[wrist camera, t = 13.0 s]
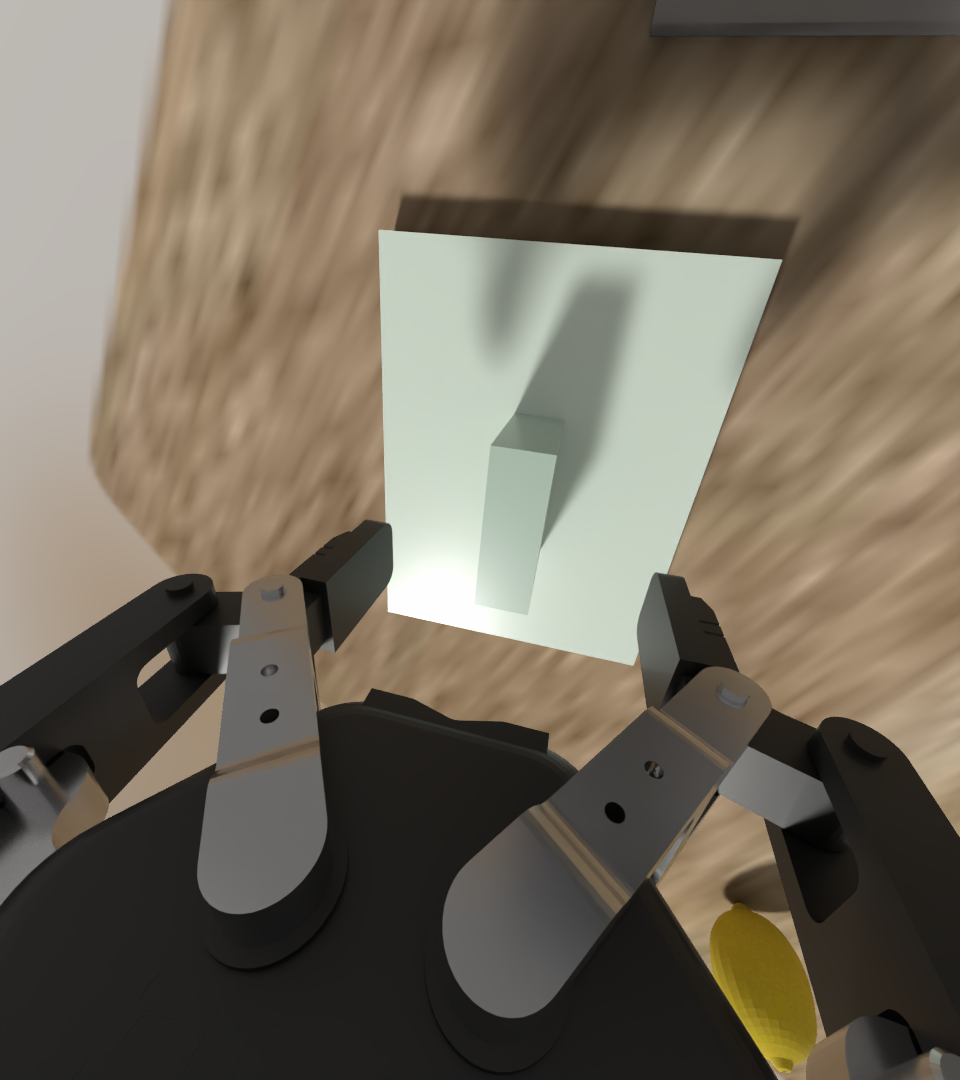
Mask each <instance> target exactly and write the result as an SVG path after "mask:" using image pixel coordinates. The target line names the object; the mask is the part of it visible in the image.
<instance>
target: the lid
mask: <svg viewBox="0 0 960 1080" xmlns="http://www.w3.org/2000/svg"><path fill="white" fill-rule="evenodd" d="M781 263H782V260H780V259H766V258H753V257H739V256H726V255H712V254H699V253H685V252H672V251H658V250H645V249H631V248H618V247H604V246H591V245H577V244H564V243H550V242H537V241H523V240H510V239H497V238H483V237H470V236H456V235H443V234H429V233H416V232H402V231H389V230H379V264H380V305H381V345H382V385H383V426H384V466H385V507H386V523H389V524H390V525H391V527H392V537H393V573H392V577H391V579H390V582H389V584H388V585H387V587H388V612H392V613H397V614H401V615H406V616H410V617H415V618H420V619H424V620H429V621H433V622H438V623H442V624H447V625H451V626H456V627H460V628H465V629H469V630H474V631H478V632H483V633H488V634H492V635H497V636H501V637H506V638H510V639H515V640H519V641H524V642H528V643H533V644H537V645H542V646H546V647H551V648H555V649H560V650H565V651H569V652H574V653H578V654H583V655H587V656H592V657H596V658H601V659H605V660H610V661H614V662H619V663H623V664H628V665H634V662H635V659H636V657H637V654H638V651H639V648H638V641H637V624H638V618H639V615H640V612H641V608H642V605H643V602H644V599H645V596H646V593H647V590H648V587H649V584H650V581H651V578H652V576H653V574H654V573H655V572H658V573H663V574H667V572H668V570H669V567H670V564H671V561H672V559H673V556H674V553H675V551H676V548H677V545H678V542H679V540H680V537H681V534H682V532H683V529H684V526H685V523H686V521H687V518H688V515H689V513H690V510H691V507H692V504H693V502H694V499H695V496H696V494H697V491H698V488H699V485H700V483H701V480H702V477H703V475H704V472H705V469H706V466H707V464H708V461H709V458H710V456H711V453H712V450H713V447H714V445H715V442H716V439H717V437H718V434H719V431H720V428H721V426H722V423H723V420H724V417H725V415H726V412H727V409H728V407H729V404H730V401H731V398H732V396H733V393H734V390H735V388H736V385H737V382H738V379H739V377H740V374H741V371H742V369H743V366H744V363H745V360H746V358H747V355H748V352H749V350H750V347H751V344H752V341H753V339H754V336H755V333H756V331H757V328H758V325H759V322H760V320H761V317H762V314H763V312H764V309H765V306H766V303H767V301H768V298H769V295H770V293H771V290H772V287H773V284H774V282H775V279H776V276H777V274H778V271H779V268H780V265H781Z"/></svg>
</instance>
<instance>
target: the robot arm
mask: <svg viewBox="0 0 960 1080" xmlns="http://www.w3.org/2000/svg"><path fill="white" fill-rule="evenodd" d="M392 573H393V537H392V527H391V525H390V524H389V523H384V522H378V521H373V520H365V521H363V522H362V523H361V524H360V525H359V526H358V527H357V528H355V529H354V530H353V531H352V532H349V531H348V532H345V533H343V534H341V535H338V536H336V537H334V538H332V539H331V540H330V541H329V542H328V543H326V544H325V545H324V547H323V548H320V549H319V550H318V551H317V552H316V554H313V555H312V556H311V557H310V558H308V559H307V560H306V561H305V562H304V563H302V564H301V565H300V566H299V567H298V568H296V569H295V570H294V571H293V572H292V573H290V574H289V575H284V574H280V575H271V576H266V577H263V578H260V579H258V580H256V581H254V582H252V583H250V584H249V585H248V586H247V587H246V588H245V589H244V591H243V592H215V588H214V585H213V581H212V579H211V578H210V577H208V576H206V575H202V574H185V575H179V576H175V577H172V578H169V579H166V580H164V581H161V582H159V583H158V584H156V585H154V586H153V587H151V588H150V589H148V590H147V591H145V592H144V593H142V594H141V595H139V596H138V597H136V598H134V599H133V600H131V601H130V602H128V603H127V604H125V605H124V606H122V607H121V608H119V609H118V610H116V611H115V612H113V613H111V614H110V615H108V616H107V617H105V618H104V619H102V620H101V621H99V622H98V623H96V624H95V625H93V626H92V627H90V628H88V629H87V630H85V631H84V632H82V633H81V634H79V635H78V636H76V637H75V638H73V639H72V640H70V641H68V642H67V643H65V644H64V645H63V646H61V647H59V648H58V649H56V650H55V651H53V652H52V653H50V654H49V655H47V656H45V657H44V658H43V659H41V660H39V661H38V662H36V663H35V664H33V665H32V666H30V667H29V668H27V669H26V670H24V671H23V672H21V673H19V674H18V675H16V676H15V677H13V678H12V679H11V680H9V681H7V682H6V683H4V684H3V685H1V686H0V1080H778V1079H777V1077H776V1075H775V1074H774V1072H773V1070H772V1069H771V1067H770V1065H769V1064H768V1062H767V1061H766V1059H765V1057H764V1056H763V1054H762V1053H761V1051H760V1050H759V1048H758V1046H757V1045H756V1043H755V1042H754V1040H753V1039H752V1037H751V1035H750V1034H749V1032H748V1031H747V1029H746V1027H745V1026H744V1024H743V1023H742V1021H741V1020H740V1018H739V1016H738V1015H737V1013H736V1012H735V1010H734V1009H733V1007H732V1005H731V1004H730V1002H729V1001H728V999H727V998H726V996H725V994H724V993H723V991H722V990H721V988H720V986H719V985H718V983H717V982H716V980H715V979H714V977H713V975H712V974H711V972H710V971H709V969H708V968H707V966H706V964H705V963H704V961H703V960H702V958H701V956H700V955H699V953H698V952H697V950H696V949H695V947H694V945H693V944H692V942H691V941H690V939H689V938H688V936H687V934H686V933H685V931H684V930H683V928H682V927H681V925H680V923H679V922H678V920H677V919H676V917H675V915H674V914H673V912H672V911H671V909H670V908H669V906H668V904H667V903H666V901H665V900H664V898H663V897H662V895H661V893H660V892H659V890H658V889H657V886H658V885H659V883H660V882H661V880H662V879H663V877H664V876H665V874H666V873H667V871H668V870H669V868H670V867H671V865H672V864H673V862H674V860H675V859H676V857H677V856H678V854H679V853H680V851H681V850H682V848H683V847H684V846H685V844H686V843H687V841H688V840H689V839H690V837H691V836H692V834H693V833H694V832H695V830H696V829H697V827H698V826H699V824H700V823H701V822H702V820H703V819H704V817H705V816H706V815H707V813H708V812H709V810H710V809H711V808H712V806H713V805H714V803H715V802H716V801H717V799H718V798H719V796H720V795H723V796H725V797H727V798H728V799H730V800H732V801H734V802H736V803H738V804H739V805H741V806H743V807H745V808H747V809H749V810H750V811H752V812H754V813H756V814H758V815H760V816H761V817H763V818H764V820H765V824H766V827H767V831H768V834H769V838H770V841H771V845H772V848H773V852H774V855H775V859H776V862H777V866H778V869H779V873H780V876H781V880H782V883H783V887H784V890H785V894H786V897H787V901H788V904H789V908H790V911H791V915H792V918H793V922H794V925H795V929H796V932H797V936H798V939H799V943H800V946H801V950H802V953H803V957H804V960H805V964H806V967H807V970H808V974H809V977H810V981H811V984H812V988H813V991H814V995H815V998H816V1002H817V1005H818V1009H819V1012H820V1016H821V1019H822V1023H823V1026H824V1030H825V1033H826V1037H827V1038H825V1039H824V1040H822V1041H821V1042H819V1043H817V1044H816V1045H815V1046H814V1047H813V1048H812V1050H811V1051H810V1054H809V1056H808V1059H807V1065H806V1080H960V837H959V836H958V834H957V833H956V831H955V830H954V828H953V827H952V825H951V824H950V822H949V820H948V819H947V817H946V816H945V814H944V813H943V811H942V810H941V808H940V807H939V805H938V804H937V802H936V801H935V799H934V798H933V796H932V795H931V793H930V792H929V790H928V789H927V787H926V785H925V784H924V782H923V781H922V779H921V778H920V776H919V775H918V773H917V772H916V770H915V769H914V767H913V766H912V764H911V763H910V761H909V760H908V758H907V757H906V756H905V754H904V753H903V752H902V751H901V750H900V749H899V748H898V747H897V746H896V745H895V744H893V743H892V742H891V741H890V740H888V739H887V738H886V737H885V736H883V735H882V734H880V733H879V732H877V731H875V730H873V729H872V728H870V727H868V726H866V725H864V724H862V723H859V722H857V721H854V720H851V719H847V718H843V717H829V718H826V719H824V720H823V721H822V722H821V724H820V725H819V727H818V728H817V729H816V728H814V727H811V726H809V725H807V724H805V723H802V722H800V721H798V720H796V719H793V718H791V717H789V716H786V715H784V714H782V713H780V712H778V711H776V710H774V709H773V708H772V706H771V702H770V699H769V697H768V696H767V694H766V693H765V691H764V690H763V689H762V688H761V687H760V686H759V685H758V684H757V683H755V682H754V681H753V680H751V679H750V678H748V677H747V676H745V675H743V674H741V673H739V670H738V668H737V665H736V663H735V661H734V658H733V656H732V653H731V651H730V649H729V646H728V644H727V642H726V639H725V638H724V637H723V636H724V634H723V632H722V630H721V627H719V623H718V620H717V618H716V615H715V613H714V611H713V610H712V609H711V608H710V607H709V606H708V605H707V604H706V603H705V602H704V601H703V600H702V599H701V598H698V597H693V596H690V593H689V590H688V587H687V584H686V582H685V579H684V578H683V577H680V576H674V575H669V574H663V573H658V572H655V573H654V574H653V576H652V578H651V581H650V584H649V587H648V590H647V593H646V596H645V599H644V602H643V605H642V608H641V612H640V615H639V618H638V624H637V641H638V648H639V655H640V662H641V670H642V677H643V684H644V691H645V698H646V705H647V710H645V711H644V712H643V713H642V714H641V715H640V716H639V717H638V718H637V719H635V720H634V721H633V722H632V723H631V724H630V725H629V726H628V727H627V728H626V729H625V730H623V731H622V732H621V733H620V734H619V735H618V736H617V737H616V738H615V739H614V740H613V741H611V742H610V743H609V744H608V745H607V746H606V747H605V748H604V749H603V750H602V751H600V752H599V753H598V754H597V755H596V756H595V757H594V758H593V759H592V760H591V761H590V762H588V763H587V764H586V765H585V766H584V767H583V768H582V769H581V770H580V771H578V770H577V769H576V768H575V767H574V766H572V765H571V764H570V763H569V762H568V761H566V760H565V759H564V758H562V757H561V756H559V755H558V754H556V753H554V752H552V751H551V750H549V749H547V748H548V739H549V733H545V732H542V731H538V730H534V729H530V728H526V727H522V726H518V725H514V724H510V723H506V722H496V721H459V720H453V719H450V718H448V717H446V716H444V715H443V714H441V713H439V712H437V711H435V710H433V709H431V708H429V707H428V706H426V705H424V704H422V703H420V702H418V701H416V700H414V699H412V698H408V697H404V696H400V695H396V694H392V693H389V692H385V691H381V690H377V689H373V688H372V689H371V691H370V692H369V694H368V696H367V697H366V699H365V701H364V702H350V703H344V704H338V705H334V706H331V707H328V708H325V709H322V710H321V707H320V699H319V691H318V683H317V676H316V668H315V660H314V654H315V653H316V652H317V651H318V650H319V649H322V650H326V651H330V652H334V653H335V652H336V651H337V649H338V648H339V647H340V645H341V644H342V643H343V642H344V640H345V639H346V638H347V636H348V635H349V634H350V633H351V631H352V630H353V629H354V627H355V626H356V625H357V624H358V622H359V621H360V620H361V618H362V617H363V616H364V615H365V613H366V612H367V611H368V609H369V608H370V607H371V606H372V604H373V603H374V602H375V600H376V599H377V598H378V597H379V595H380V594H381V593H382V591H383V590H384V589H385V588H386V586H387V585H388V584H389V582H390V579H391V577H392ZM165 648H167V650H168V653H169V655H170V658H171V660H170V661H169V662H168V663H167V664H166V665H164V666H163V667H162V668H161V669H160V670H159V671H157V672H156V673H155V674H154V675H153V676H152V677H151V678H150V679H148V680H147V681H146V682H145V683H144V684H143V685H141V686H140V687H139V688H138V687H137V678H138V675H139V673H140V671H141V669H142V668H143V667H144V666H145V665H146V664H147V663H148V662H149V661H150V660H151V659H152V658H154V657H155V656H156V655H157V654H159V653H160V652H161V651H162V650H163V649H165ZM225 679H226V683H225V693H224V702H223V710H222V719H221V728H220V738H219V746H218V755H217V763H215V764H213V765H211V766H209V767H208V768H205V769H204V770H202V771H200V772H198V773H196V774H194V775H192V776H190V777H188V778H186V779H184V780H182V781H180V782H178V783H176V784H174V785H172V786H170V787H168V788H166V789H165V790H163V791H161V792H159V793H157V794H155V795H153V796H151V797H149V798H147V799H145V800H143V801H141V802H139V803H137V804H136V805H133V806H131V807H129V808H128V809H126V810H124V811H122V812H120V813H118V814H116V815H114V816H112V817H110V818H108V819H106V820H104V819H105V816H106V814H107V811H108V807H109V803H110V802H111V801H112V800H113V799H114V798H115V797H116V796H117V795H118V793H119V792H120V791H121V790H122V789H123V788H124V787H125V786H126V785H127V784H128V783H129V782H130V781H131V779H133V777H134V776H135V775H136V774H137V773H138V772H139V771H140V770H141V769H142V768H143V767H144V766H145V765H146V764H147V762H148V761H149V760H150V759H151V758H152V757H153V756H154V755H155V754H156V753H157V752H158V750H160V749H161V748H162V746H163V745H164V744H165V743H166V742H167V741H168V740H169V739H170V738H171V737H172V736H173V735H174V734H175V733H176V732H177V730H178V729H179V728H180V727H181V726H182V725H183V724H184V723H185V722H186V721H187V720H188V718H189V717H191V716H192V714H193V713H194V712H195V711H196V710H197V709H198V708H199V707H200V706H201V705H202V704H203V703H204V702H205V701H206V699H207V698H208V697H209V696H210V695H211V694H212V693H213V692H214V691H215V690H216V689H217V688H218V687H219V685H220V684H222V682H223V681H224V680H225ZM103 820H104V821H103Z"/></svg>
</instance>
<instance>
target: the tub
mask: <svg viewBox="0 0 960 1080" xmlns="http://www.w3.org/2000/svg"><path fill="white" fill-rule="evenodd" d="M865 35H960V0H656V5H655V10H654V15H653V20H652V25H651V31H650V36H865Z"/></svg>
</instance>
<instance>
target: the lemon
mask: <svg viewBox="0 0 960 1080" xmlns="http://www.w3.org/2000/svg"><path fill="white" fill-rule="evenodd" d="M710 960H711V967H712V972H713V977H714V979H715V980H716V982H717V983H718V985H719V986H720V988H721V990H722V991H723V993H724V994H725V996H726V998H727V999H728V1001H729V1002H730V1004H731V1005H732V1007H733V1009H734V1010H735V1012H736V1013H737V1015H738V1016H739V1018H740V1020H741V1021H742V1023H743V1024H744V1026H745V1027H746V1029H747V1031H748V1032H749V1034H750V1035H751V1037H752V1039H753V1040H754V1042H755V1043H756V1045H757V1046H758V1048H759V1050H760V1051H761V1053H762V1054H763V1056H764V1057H765V1058H766V1059H767V1060H769V1061H771V1062H772V1064H773V1065H774V1066H775V1067H776V1069H777V1070H778V1071H780V1072H784V1073H790V1072H791V1070H792V1067H793V1065H796V1064H798V1063H800V1062H802V1061H804V1060H805V1059H806V1058H807V1057H808V1056H809V1054H810V1051H811V1050H812V1048H813V1047H814V1045H815V1043H816V1037H817V1022H816V1014H815V1007H814V1001H813V996H812V992H811V988H810V985H809V981H808V978H807V976H806V973H805V970H804V968H803V966H802V964H801V962H800V959H799V957H798V956H797V954H796V952H795V950H794V949H793V947H792V946H791V944H790V943H789V941H788V940H787V939H786V937H785V936H784V935H783V934H782V932H781V931H780V930H779V929H778V928H777V927H776V926H775V925H773V924H772V923H771V922H770V921H769V920H767V919H766V918H764V917H763V916H761V915H759V914H757V913H754V912H752V911H751V910H750V909H749V908H748V907H747V906H746V905H744V904H743V903H739V902H738V903H735V904H734V906H733V907H732V909H731V910H730V911H727V912H725V913H723V914H722V915H721V916H719V917H718V919H717V920H716V922H715V923H714V926H713V928H712V931H711V935H710Z"/></svg>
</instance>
